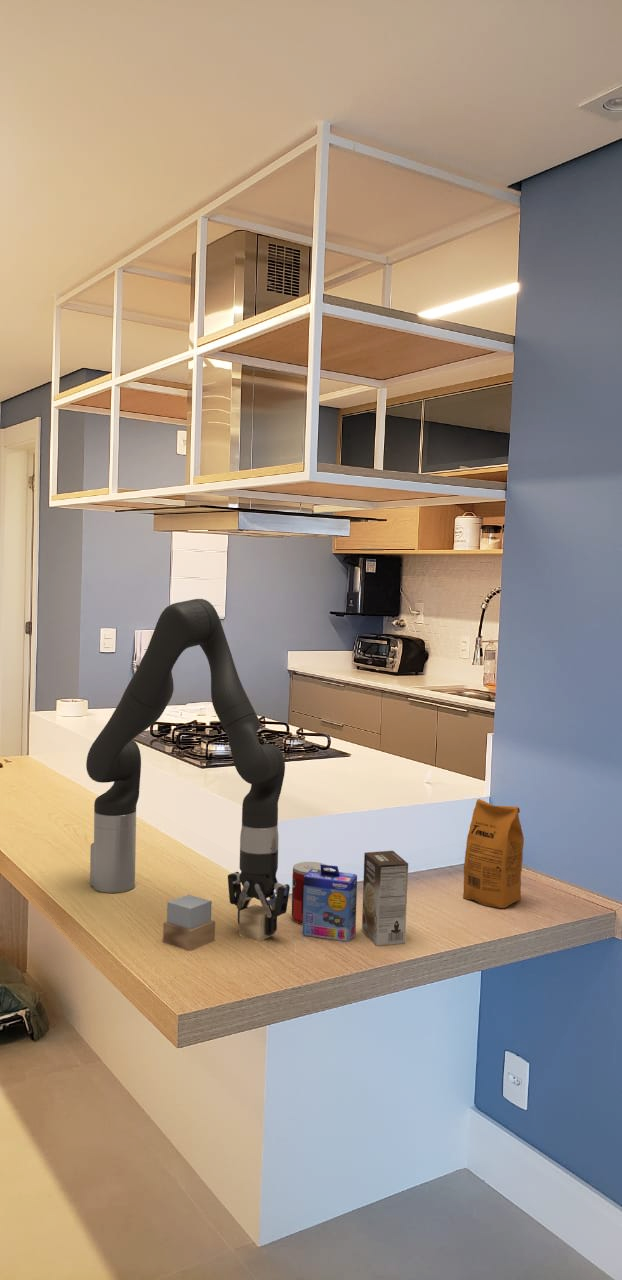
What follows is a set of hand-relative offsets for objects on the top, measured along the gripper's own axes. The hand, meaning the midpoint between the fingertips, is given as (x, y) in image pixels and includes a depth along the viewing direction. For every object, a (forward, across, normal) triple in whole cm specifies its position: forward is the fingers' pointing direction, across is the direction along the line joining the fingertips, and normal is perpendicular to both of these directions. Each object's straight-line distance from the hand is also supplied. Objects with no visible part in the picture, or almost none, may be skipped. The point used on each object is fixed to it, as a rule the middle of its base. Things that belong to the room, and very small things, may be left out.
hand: (257, 930), depth 196 cm
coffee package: (+1, +27, +50) cm, 57 cm away
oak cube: (+1, 0, 0) cm, 1 cm away
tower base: (+1, -8, -11) cm, 14 cm away
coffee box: (+1, +20, +15) cm, 25 cm away
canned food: (+1, +3, +14) cm, 14 cm away
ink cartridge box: (+1, +11, +9) cm, 14 cm away
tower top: (-3, -8, -11) cm, 14 cm away
